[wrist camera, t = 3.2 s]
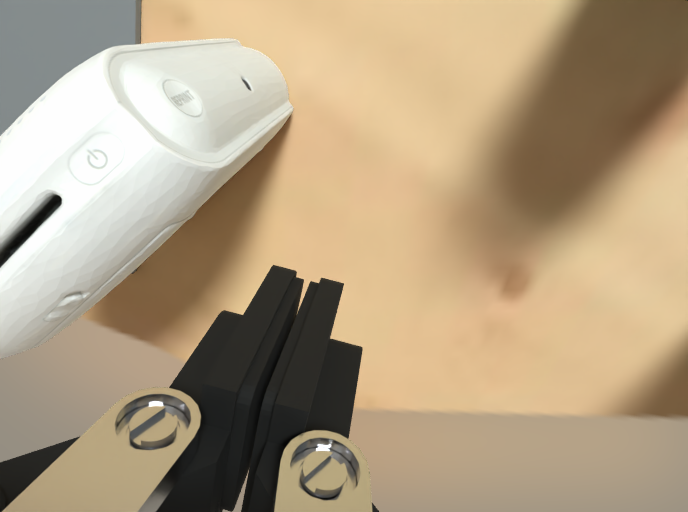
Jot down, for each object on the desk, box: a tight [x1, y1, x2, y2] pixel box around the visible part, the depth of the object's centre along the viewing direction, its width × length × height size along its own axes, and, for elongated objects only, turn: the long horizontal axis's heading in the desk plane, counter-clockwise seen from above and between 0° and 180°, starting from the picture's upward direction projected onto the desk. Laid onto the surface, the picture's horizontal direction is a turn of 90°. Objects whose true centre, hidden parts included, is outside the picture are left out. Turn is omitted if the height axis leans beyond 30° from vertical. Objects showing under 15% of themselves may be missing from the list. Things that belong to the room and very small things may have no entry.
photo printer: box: [0, 38, 294, 359], centre depth 16 cm, size 10×4×12 cm, turn 130°
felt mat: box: [0, 0, 141, 274], centre depth 21 cm, size 13×16×1 cm
